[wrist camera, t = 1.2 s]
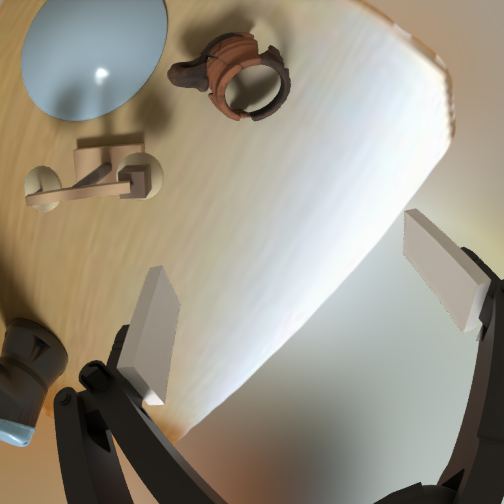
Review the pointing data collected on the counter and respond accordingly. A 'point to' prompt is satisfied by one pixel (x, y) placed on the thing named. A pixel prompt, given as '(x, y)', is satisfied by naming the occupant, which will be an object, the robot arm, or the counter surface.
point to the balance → (98, 176)
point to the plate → (91, 54)
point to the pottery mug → (230, 72)
